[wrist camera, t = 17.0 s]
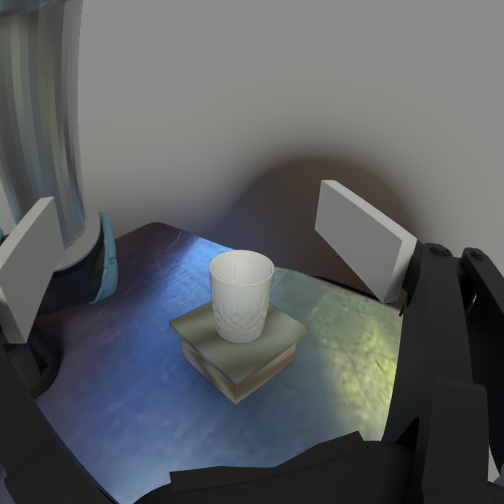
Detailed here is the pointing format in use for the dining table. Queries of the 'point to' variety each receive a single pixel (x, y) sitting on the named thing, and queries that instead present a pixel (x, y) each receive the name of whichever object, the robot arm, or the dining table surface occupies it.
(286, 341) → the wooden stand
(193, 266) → the dining table surface
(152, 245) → the dining table surface
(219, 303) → the white cup
